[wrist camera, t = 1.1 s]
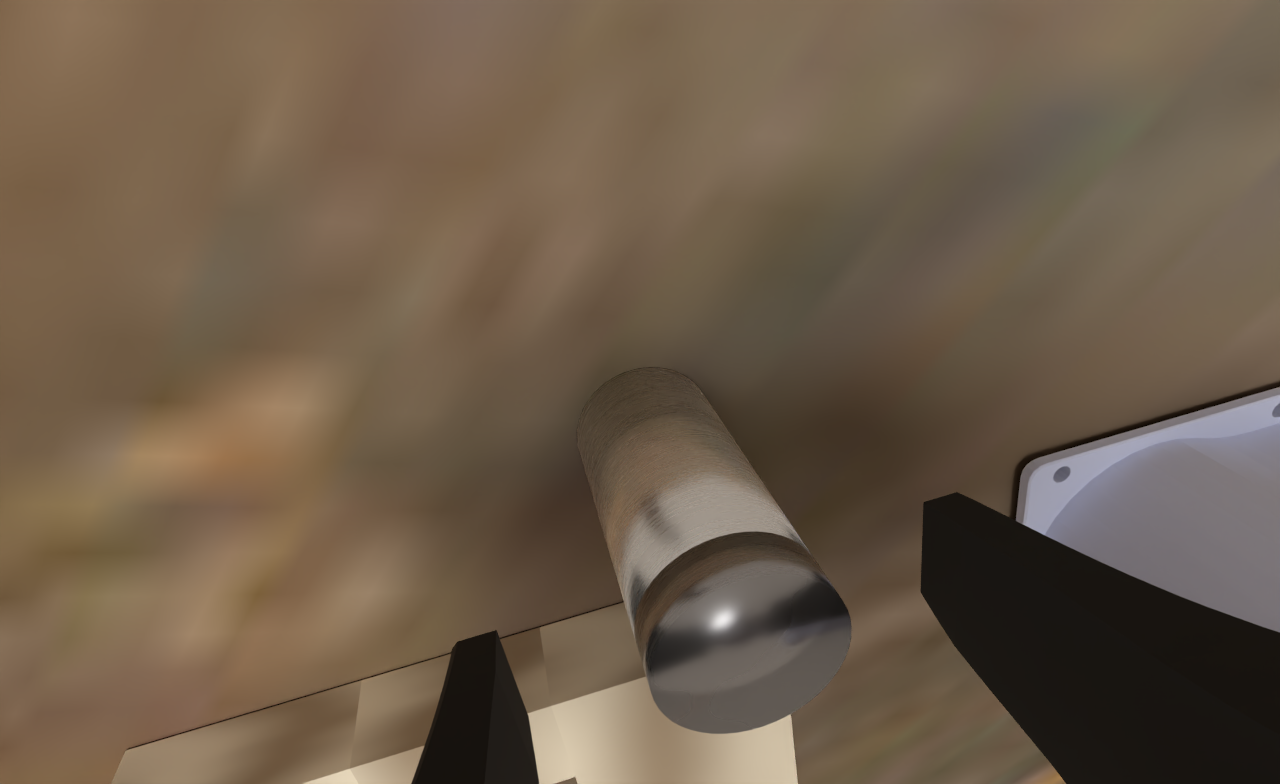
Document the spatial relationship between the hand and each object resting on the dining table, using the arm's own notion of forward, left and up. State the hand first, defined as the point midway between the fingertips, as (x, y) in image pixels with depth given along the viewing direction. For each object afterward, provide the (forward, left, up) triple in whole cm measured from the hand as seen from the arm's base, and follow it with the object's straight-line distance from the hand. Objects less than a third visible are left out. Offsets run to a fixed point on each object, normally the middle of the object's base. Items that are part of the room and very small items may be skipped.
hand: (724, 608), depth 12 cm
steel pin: (0, 0, -6) cm, 6 cm away
